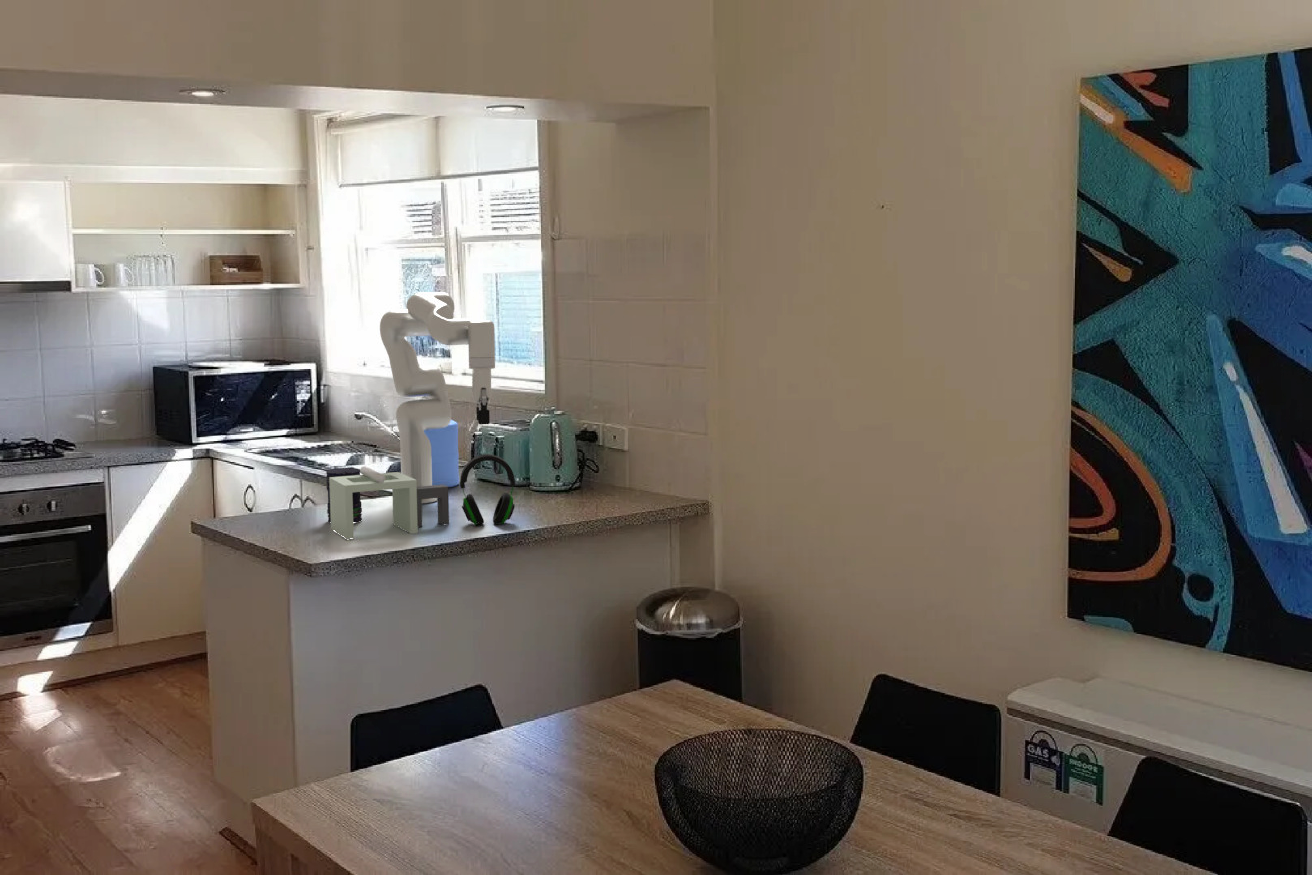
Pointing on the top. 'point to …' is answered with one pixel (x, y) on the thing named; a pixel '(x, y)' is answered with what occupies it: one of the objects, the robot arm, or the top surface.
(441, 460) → the light blue cylinder
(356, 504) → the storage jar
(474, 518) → the headphones
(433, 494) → the grey bridge arch
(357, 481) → the shelf
